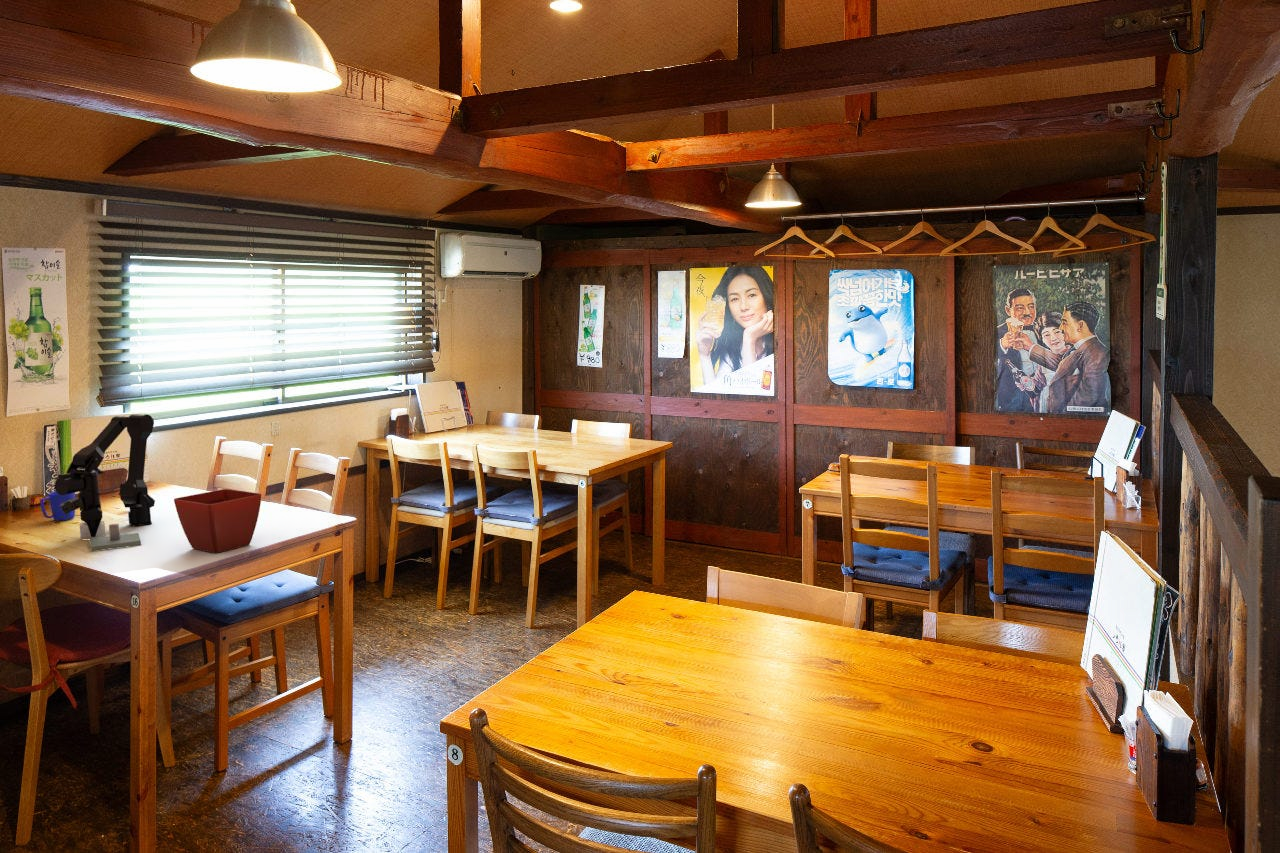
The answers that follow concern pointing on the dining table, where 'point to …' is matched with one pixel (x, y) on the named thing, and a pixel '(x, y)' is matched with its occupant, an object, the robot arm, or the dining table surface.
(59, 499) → the mug
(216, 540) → the plant pot
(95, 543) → the post stand
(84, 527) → the tan faceted hollow ring
